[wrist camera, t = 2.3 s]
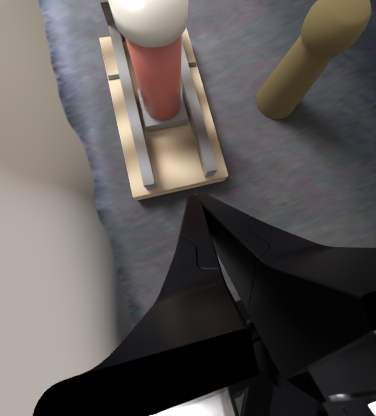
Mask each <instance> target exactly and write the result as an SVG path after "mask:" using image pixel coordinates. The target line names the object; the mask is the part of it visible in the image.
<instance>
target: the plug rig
mask: <svg viewBox="0 0 376 416" xmlns="http://www.w3.org/2000/svg"><path fill="white" fill-rule="evenodd" d="M100 3H101V6H102V9H103V12H104V15H105V18H106V21H107V24H108V27H109V32H110V36H111V37H104V38H99V39H100V44H101V49H102V53H103V58H104V63H105V68H106V72H107V77H108V82H109V86H110V91H111V96H112V101H113V105H114V110H115V115H116V119H117V124H118V129H119V133H120V138H121V143H122V148H123V152H124V157H125V162H126V166H127V171H128V176H129V181H130V185H131V190H132V195H133V198H134V199H136V200H137V201H138V200H142V199H146V198H151V197H155V196H160V195H164V194H168V193H173V192H177V191H181V190H186V189H190V188H195V187H199V186H203V185H208V184H212V183H216V182H221V181H224V180H225V179H226V178H227V177H228V173H227V169H226V166H225V162H224V158H223V155H222V151H221V148H220V144H219V141H218V137H217V134H216V130H215V127H214V123H213V120H212V116H211V113H210V109H209V106H208V102H207V99H206V95H205V92H204V88H203V85H202V81H201V78H200V74H199V71H198V67H197V64H196V60H195V57H194V53H193V50H192V46H191V43H190V39H189V36H188V32H187V28H186V29H185V31H184V32H183V34H182V54H181V94H182V97H183V101H184V105H185V109H186V112H187V116H188V124H185V125H180V126H175V127H169V128H164V129H159V130H154V131H148V132H147V130H146V126H145V122H144V118H143V114H142V109H141V105H140V101H139V96H138V92H137V89H139V86H138V82H137V79H136V75H135V71H134V68H133V64H132V61H131V57H130V54H129V50H128V46H127V43H126V39H125V37H124V36H123V35H122V34H121V33H120V32H119V30H118V29H117V26H116V24H115V21H114V18H113V15H112V11H111V8H110V5H109V2H108V0H100Z"/></svg>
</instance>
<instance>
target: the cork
mask: <svg viewBox="0 0 376 416" xmlns="http://www.w3.org/2000/svg"><path fill="white" fill-rule="evenodd" d="M370 15H371V6H370V1H369V0H317V1H316V3H315V4H314V5H313V6H312V7H311V9H310V11H309V12H308V14H307V16H306V18H305V21H304V23H303V26H302V30H301V36H300V37H299V38H298V40H297V41H296V42H295V44H294V45H293V46H292V47H291V49H290V50H289V51H288V53H287V54H286V55H285V57H284V58H283V59H282V61H281V62H280V63H279V64H278V66H277V67H276V68H275V70H274V71H273V72H272V74H271V75H270V76H269V77H268V79H267V80H266V81H265V83H264V84H263V85H262V87H261V88H260V89H259V90H258V92H257V95H256V104H257V106H258V109H259V110H260V111H261V113H262V114H264V115H265V116H267V117H269V118H271V119H283V118H286V117H287V116H289V115H290V114H291V113H292V111H293V110H294V109H295V107H296V106H297V104H298V103H299V102H300V100H301V99H302V98H303V96H304V95H305V94H306V92H307V91H308V90H309V88H310V87H311V86H312V84H313V83H314V82H315V80H316V79H317V78H318V76H319V75H320V74H321V72H322V71H323V70H324V68H325V67H326V66H327V64H328V63H329V62H330V60H331V59H332V58H333V57H335V56H338V55H339V54H341V53H343V52H344V51H345V50H346V49H348V48H349V47H350V46H351V45H352V44H353V43H354V42H355V41H356V40H357V39H358V37H359V36H360V35H361V33H362V32H363V30H364V29H365V28H366V26H367V24H368V21H369V19H370Z"/></svg>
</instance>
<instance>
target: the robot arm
mask: <svg viewBox="0 0 376 416" xmlns="http://www.w3.org/2000/svg"><path fill="white" fill-rule="evenodd" d="M216 252H217V254H218V256H219V258H220V260H221V262H222V264H223V266H224V267H225V269H226V271H227V273H228V275H229V277H230V279H231V281H232V283H233V285H234V287H235V289H236V291H237V292H238V294H239V296H240V298H241V300H240V301H237V302H235V300H234V299H233V297H232V295H231V293H230V291H229V289H228V287H227V285H226V282H225V280H224V277H223V274H222V271H221V267H220V264H219V260H218V257H217V254H216ZM244 391H245V392H244ZM243 393H244V397H243V403H242V409H241V414H240V416H376V248H347V247H330V246H324V245H320V244H317V243H314V242H311V241H309V240H306V239H304V238H301V237H299V236H296V235H293V234H291V233H288V232H286V231H283V230H281V229H278V228H276V227H273V226H271V225H269V224H266V223H264V222H262V221H260V220H258V219H256V218H254V217H252V216H251V217H250V215H248V214H246V213H244V212H242V211H240V210H238V209H236V208H234V207H232V206H230V205H228V204H226V203H224V202H221V201H219V200H217V199H215V198H213V197H211V196H209V195H207V194H205V193H203V192H200V193H197V194H193V195H189V196H188V197H187V201H186V206H185V211H184V216H183V220H182V225H181V230H180V234H179V239H178V243H177V247H176V251H175V254H174V257H173V260H172V263H171V266H170V268H169V271H168V274H167V276H166V279H165V281H164V284H163V287H162V289H161V292H160V294H159V296H158V298H157V300H156V302H155V303H154V305H153V306H152V307H151V308H150V310H149V311H148V312H147V313H146V314H145V315H144V317H143V318H142V319H141V320H140V321H139V322H138V324H137V325H136V326H135V327H134V328H133V329H132V331H131V332H130V333H129V334H128V335H127V336H126V338H125V339H124V340H123V341H122V342H121V344H120V345H119V346H118V347H117V348H116V349H115V350H114V351H113V353H111V355H110V356H109V357H107V358H106V359H105V360H104V361H103V362H102V363H100V364H99V365H97V366H96V367H94V368H93V369H92V370H89V371H87V372H85V373H83V374H80V375H77V376H74V377H72V378H69V379H66V380H63V381H61V382H58V383H56V384H54V385H53V386H51V387H50V388H49V389H47V390H46V391H45V392H44V394H43V395H42V396H41V398H40V399H39V401H38V403H37V405H36V407H35V409H34V413H33V416H239V414H238V411H237V407H236V404H235V400H234V399H235V398H237V397H240V396H241V395H242V394H243Z"/></svg>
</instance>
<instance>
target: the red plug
mask: <svg viewBox="0 0 376 416" xmlns="http://www.w3.org/2000/svg"><path fill="white" fill-rule="evenodd" d="M188 1H189V0H108V2H109V5H110V8H111V11H112V15H113V18H114V21H115V24H116V26H117V29H118V30H119V32H120V33H121V34H122V35H123V36H124V37H125V39H126V43H127V46H128V50H129V54H130V57H131V61H132V64H133V68H134V71H135V75H136V79H137V82H138V86H139V89H137V92H138V96H139V101H140V105H141V109H142V114H143V118H144V122H145V126H146V130H147V132H148V131H154V130H159V129H164V128H169V127H175V126H180V125H185V124H188V116H187V112H186V109H185V105H184V101H183V97H182V94H181V54H182V34H183V32H184V31H185V29H186V26H187V21H188Z"/></svg>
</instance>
